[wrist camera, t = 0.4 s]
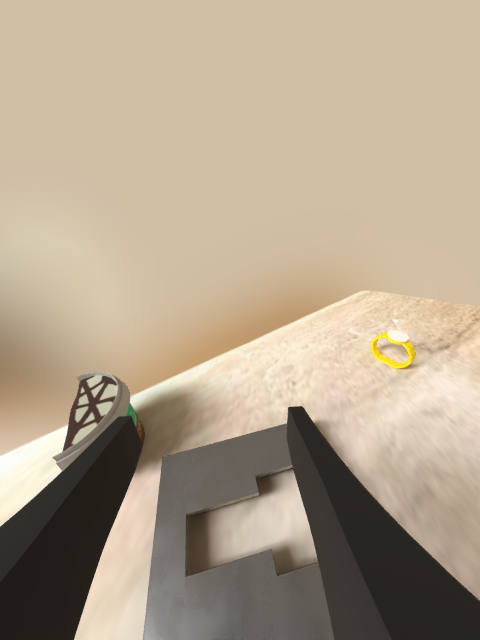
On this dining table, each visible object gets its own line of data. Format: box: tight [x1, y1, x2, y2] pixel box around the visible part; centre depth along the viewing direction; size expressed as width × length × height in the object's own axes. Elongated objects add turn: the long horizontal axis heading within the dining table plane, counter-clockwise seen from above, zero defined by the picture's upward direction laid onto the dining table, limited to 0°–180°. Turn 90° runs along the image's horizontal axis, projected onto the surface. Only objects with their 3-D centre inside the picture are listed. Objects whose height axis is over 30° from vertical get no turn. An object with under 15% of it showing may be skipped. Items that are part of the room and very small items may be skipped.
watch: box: [371, 331, 416, 368], centre depth 34 cm, size 6×3×6 cm, turn 34°
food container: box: [53, 372, 144, 471], centre depth 27 cm, size 12×6×10 cm, turn 25°
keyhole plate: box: [143, 424, 335, 640], centre depth 20 cm, size 16×19×2 cm
